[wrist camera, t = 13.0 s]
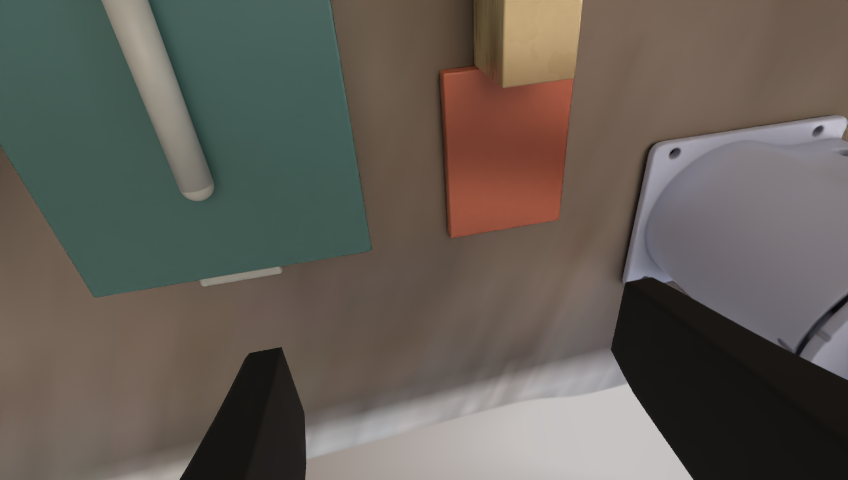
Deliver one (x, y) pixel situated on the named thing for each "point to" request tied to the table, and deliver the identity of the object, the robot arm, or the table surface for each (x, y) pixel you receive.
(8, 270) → the table surface
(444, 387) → the table surface
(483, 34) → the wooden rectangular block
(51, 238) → the table surface
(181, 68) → the tiffin box
